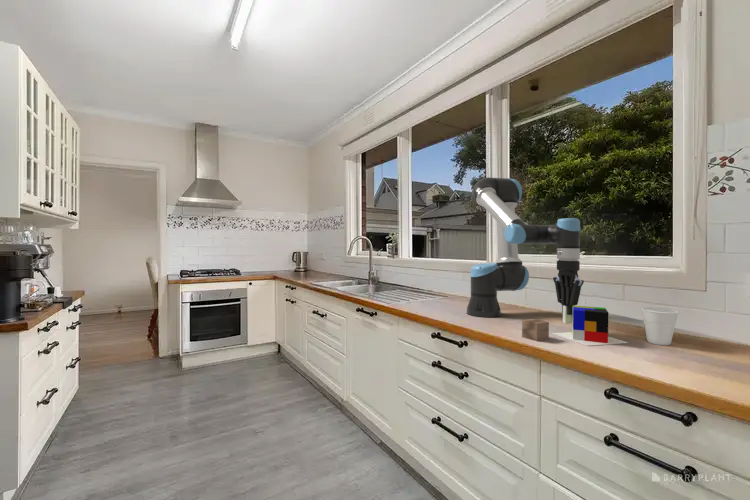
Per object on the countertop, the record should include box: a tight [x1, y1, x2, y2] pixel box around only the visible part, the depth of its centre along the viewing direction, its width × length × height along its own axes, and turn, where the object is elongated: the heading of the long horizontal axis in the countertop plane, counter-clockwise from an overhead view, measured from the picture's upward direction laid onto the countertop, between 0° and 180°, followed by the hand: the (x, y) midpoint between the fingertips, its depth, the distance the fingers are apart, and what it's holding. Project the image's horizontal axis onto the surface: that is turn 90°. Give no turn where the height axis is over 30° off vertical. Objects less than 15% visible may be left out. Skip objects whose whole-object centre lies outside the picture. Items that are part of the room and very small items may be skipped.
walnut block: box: [521, 318, 550, 342], centre depth 124 cm, size 6×6×6 cm
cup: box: [640, 306, 680, 346], centre depth 118 cm, size 10×10×11 cm
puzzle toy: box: [571, 305, 610, 343], centre depth 124 cm, size 10×10×10 cm
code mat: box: [551, 331, 629, 347], centre depth 124 cm, size 16×16×1 cm
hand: (567, 323), depth 134 cm, fingers closed
